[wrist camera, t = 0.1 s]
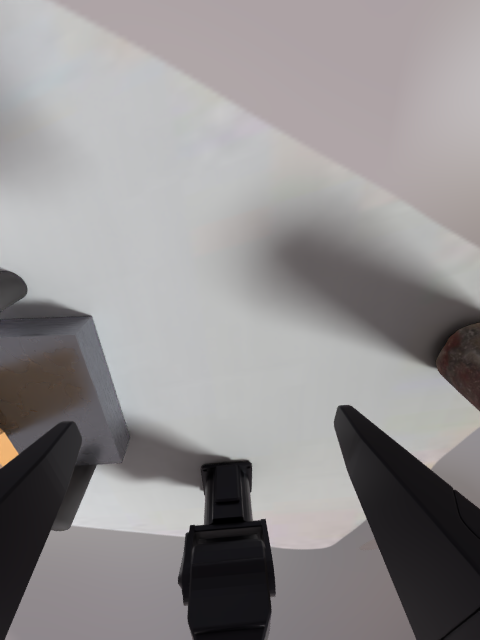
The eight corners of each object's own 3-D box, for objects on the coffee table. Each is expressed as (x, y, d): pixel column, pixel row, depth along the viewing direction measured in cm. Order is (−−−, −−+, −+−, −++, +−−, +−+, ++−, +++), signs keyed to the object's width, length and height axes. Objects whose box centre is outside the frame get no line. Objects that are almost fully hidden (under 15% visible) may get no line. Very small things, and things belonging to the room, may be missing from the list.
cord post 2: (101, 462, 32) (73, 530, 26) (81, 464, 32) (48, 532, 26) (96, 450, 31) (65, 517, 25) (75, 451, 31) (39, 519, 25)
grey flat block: (130, 437, 30) (121, 462, 28) (20, 444, 30) (1, 470, 27) (91, 316, 23) (75, 334, 20) (-57, 321, 22) (-95, 341, 19)
